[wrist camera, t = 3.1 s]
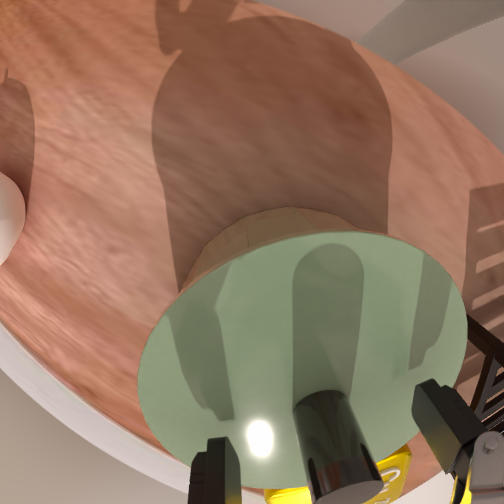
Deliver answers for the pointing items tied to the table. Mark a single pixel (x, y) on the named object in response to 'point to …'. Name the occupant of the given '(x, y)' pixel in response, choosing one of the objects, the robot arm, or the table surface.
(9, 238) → the apple
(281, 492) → the element tile
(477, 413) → the rack
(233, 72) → the table surface
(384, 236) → the lid
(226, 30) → the table surface
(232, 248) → the pot
